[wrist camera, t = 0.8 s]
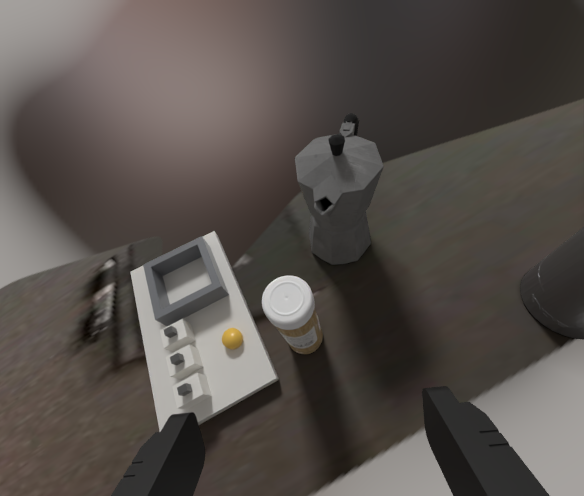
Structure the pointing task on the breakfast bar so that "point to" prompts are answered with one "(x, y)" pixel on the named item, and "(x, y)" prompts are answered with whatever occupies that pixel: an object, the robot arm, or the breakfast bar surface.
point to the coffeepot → (339, 191)
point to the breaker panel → (198, 332)
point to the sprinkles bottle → (293, 313)
